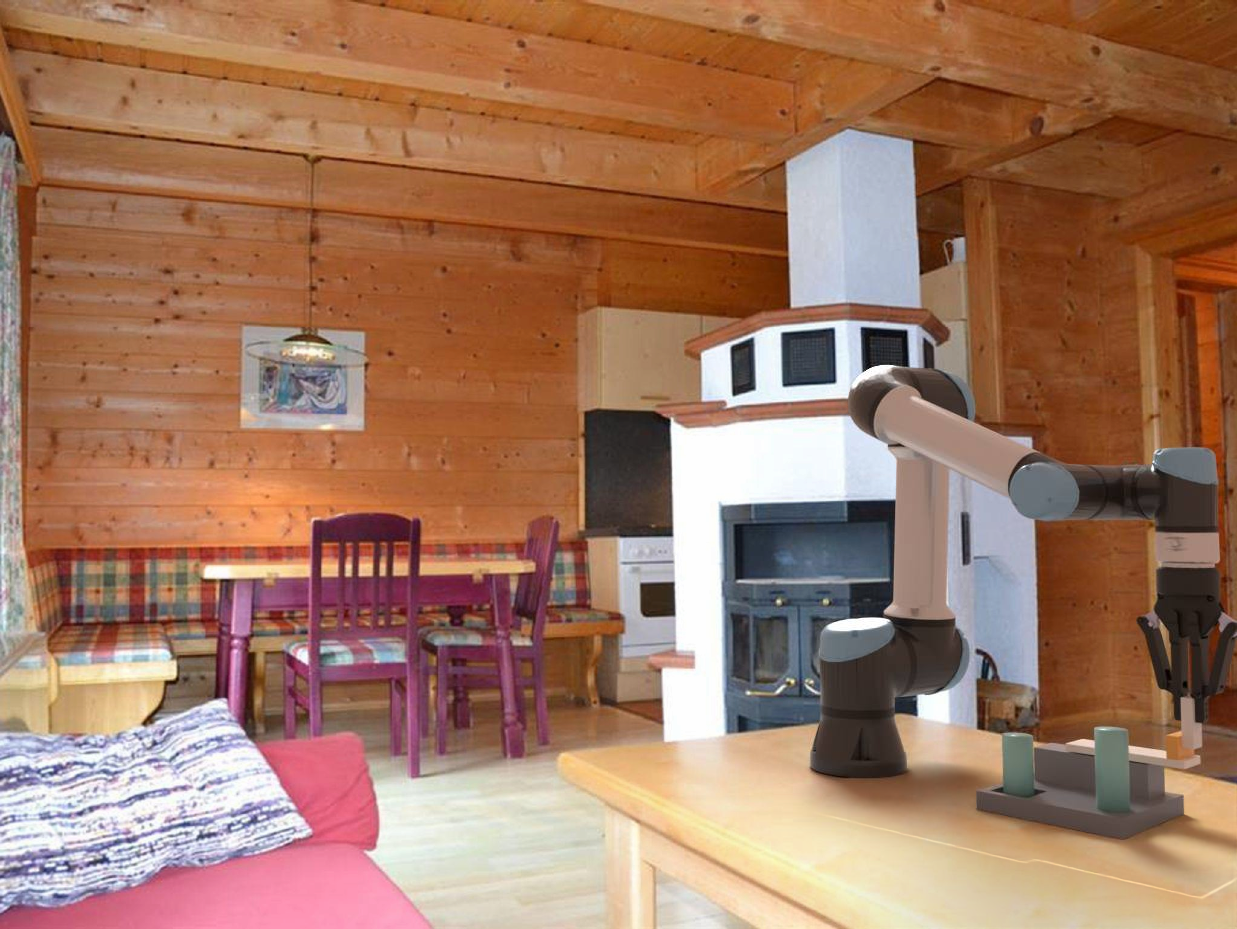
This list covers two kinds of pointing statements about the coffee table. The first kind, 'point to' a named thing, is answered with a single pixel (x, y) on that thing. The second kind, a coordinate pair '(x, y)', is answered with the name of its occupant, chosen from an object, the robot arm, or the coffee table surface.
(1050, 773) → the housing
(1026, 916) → the coffee table surface
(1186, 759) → the lid
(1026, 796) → the peg
